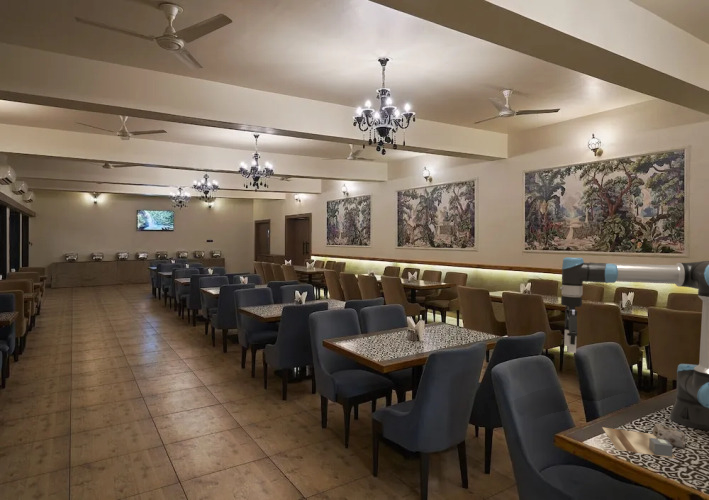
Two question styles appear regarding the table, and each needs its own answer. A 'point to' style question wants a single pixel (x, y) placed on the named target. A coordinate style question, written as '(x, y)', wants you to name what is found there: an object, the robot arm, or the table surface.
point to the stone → (670, 435)
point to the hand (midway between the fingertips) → (569, 349)
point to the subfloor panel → (631, 441)
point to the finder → (660, 447)
